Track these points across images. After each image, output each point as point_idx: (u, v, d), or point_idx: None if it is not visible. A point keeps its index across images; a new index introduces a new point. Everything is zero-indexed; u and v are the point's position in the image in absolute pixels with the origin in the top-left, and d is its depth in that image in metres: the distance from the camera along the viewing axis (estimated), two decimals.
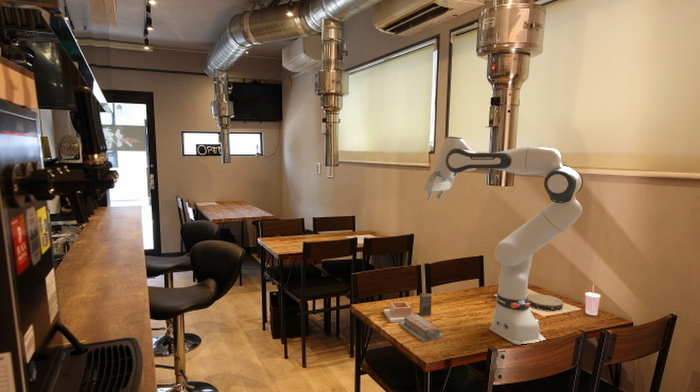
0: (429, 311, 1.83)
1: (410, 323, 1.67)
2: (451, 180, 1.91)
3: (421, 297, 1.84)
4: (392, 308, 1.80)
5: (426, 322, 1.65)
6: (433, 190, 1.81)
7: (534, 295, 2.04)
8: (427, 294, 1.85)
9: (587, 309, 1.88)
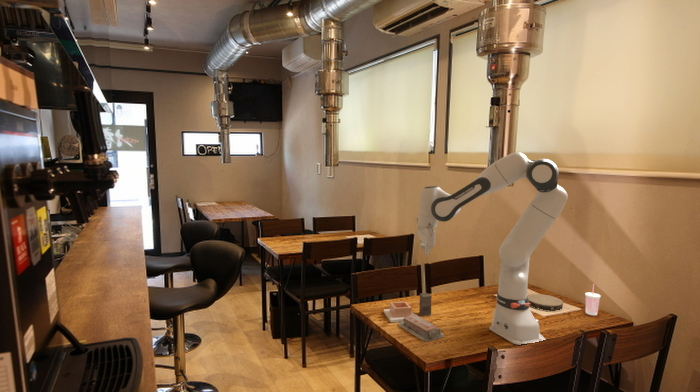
0: (429, 311, 1.83)
1: (410, 323, 1.67)
2: None
3: (421, 297, 1.84)
4: (392, 308, 1.80)
5: (426, 322, 1.65)
6: None
7: (534, 295, 2.04)
8: (427, 294, 1.85)
9: (587, 309, 1.88)
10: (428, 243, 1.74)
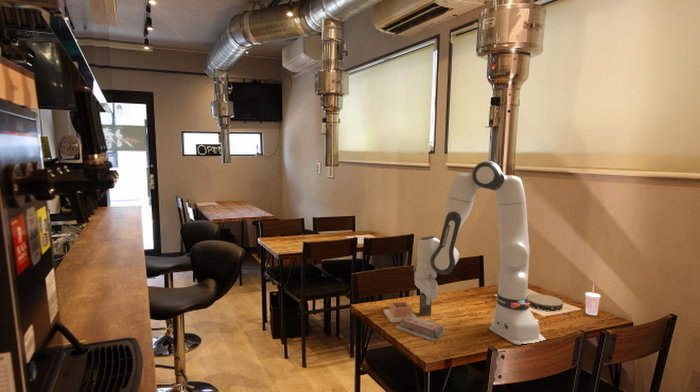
0: (429, 311, 1.83)
1: (411, 324, 1.66)
2: None
3: (421, 297, 1.84)
4: (392, 308, 1.80)
5: (426, 321, 1.66)
6: None
7: (534, 295, 2.04)
8: None
9: (587, 309, 1.88)
10: (432, 296, 1.74)
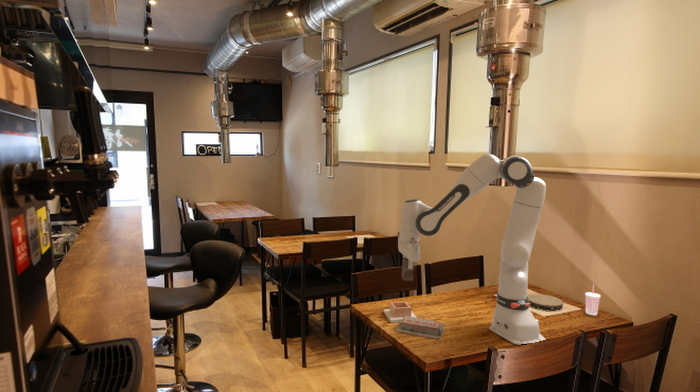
0: (411, 276, 1.80)
1: (413, 325, 1.65)
2: None
3: (403, 261, 1.80)
4: (392, 308, 1.80)
5: (426, 320, 1.67)
6: None
7: (534, 295, 2.04)
8: None
9: (587, 309, 1.88)
10: (413, 258, 1.70)
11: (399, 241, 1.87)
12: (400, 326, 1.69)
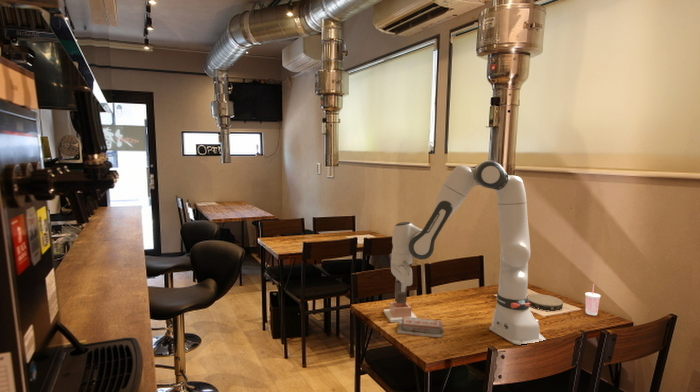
0: (404, 299, 1.79)
1: (414, 326, 1.64)
2: None
3: (396, 284, 1.80)
4: (392, 308, 1.80)
5: (426, 320, 1.68)
6: None
7: (534, 295, 2.04)
8: None
9: (587, 309, 1.88)
10: (406, 282, 1.70)
11: (392, 263, 1.87)
12: (400, 327, 1.68)
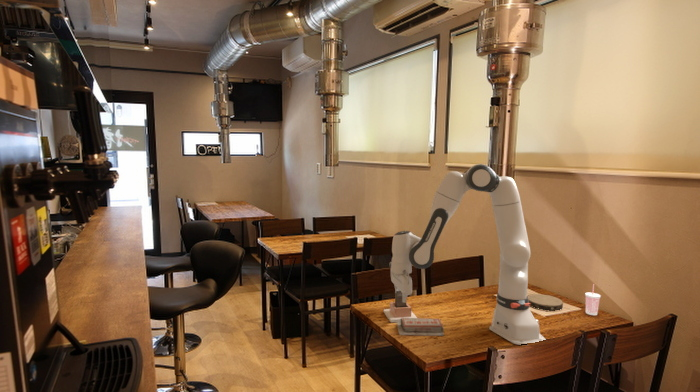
0: None
1: (416, 326, 1.64)
2: None
3: (396, 296, 1.81)
4: (392, 308, 1.80)
5: (425, 319, 1.69)
6: None
7: (534, 295, 2.04)
8: None
9: (587, 309, 1.88)
10: (405, 291, 1.71)
11: (391, 272, 1.88)
12: (400, 329, 1.66)
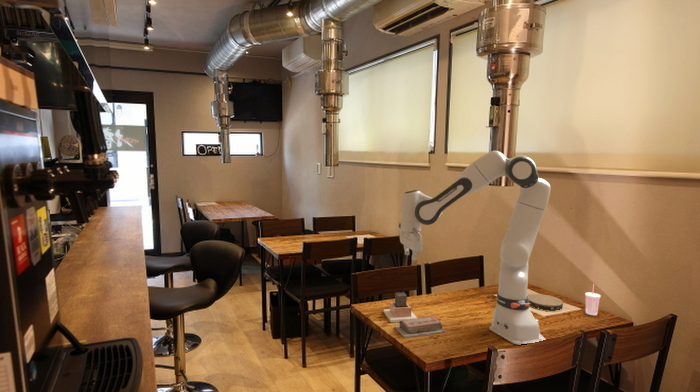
0: None
1: (419, 327, 1.64)
2: None
3: (396, 296, 1.81)
4: (392, 308, 1.80)
5: (423, 318, 1.69)
6: None
7: (534, 295, 2.04)
8: (402, 293, 1.81)
9: (587, 309, 1.88)
10: (416, 248, 1.72)
11: (400, 233, 1.89)
12: (403, 331, 1.64)
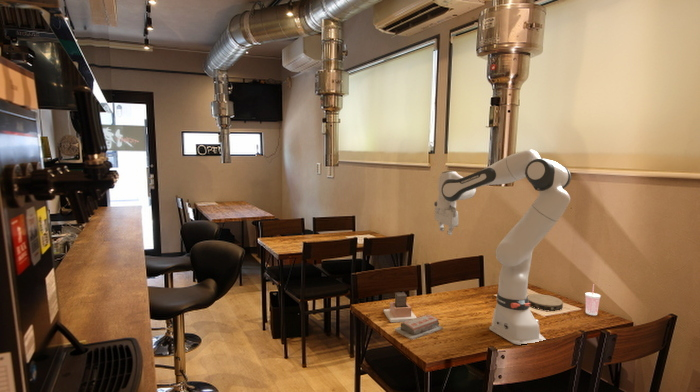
0: None
1: (422, 327, 1.64)
2: None
3: (396, 296, 1.81)
4: (392, 308, 1.80)
5: (421, 318, 1.70)
6: None
7: (534, 295, 2.04)
8: (402, 293, 1.81)
9: (587, 309, 1.88)
10: (452, 223, 1.88)
11: (436, 211, 2.05)
12: (407, 334, 1.62)
